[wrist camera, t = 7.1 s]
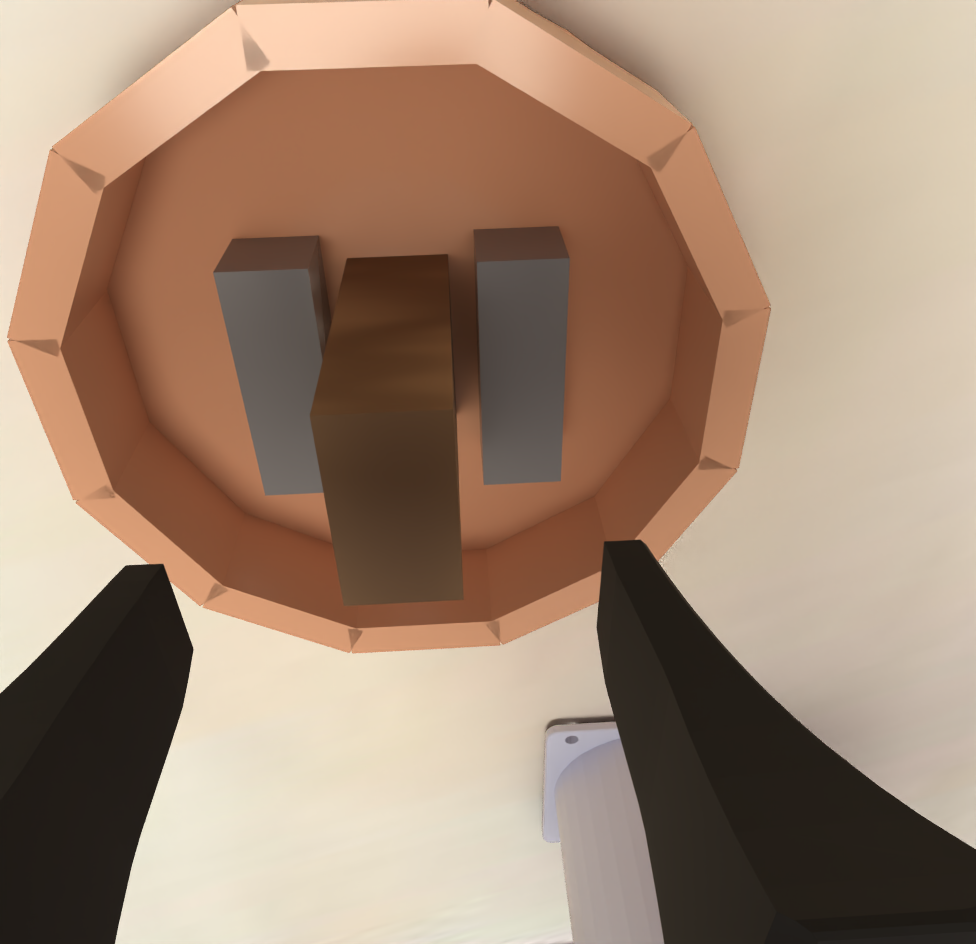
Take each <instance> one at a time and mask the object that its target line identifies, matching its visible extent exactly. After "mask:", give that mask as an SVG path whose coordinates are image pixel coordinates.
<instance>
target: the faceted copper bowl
mask: <svg viewBox="0 0 976 944" xmlns="http://www.w3.org/2000/svg"><path fill="white" fill-rule="evenodd" d="M52 147H53V148H52V149H51V150H50V151H49V156H48V160H47V165H46V169H45V173H44V178H43V182H42V186H41V191H40V195H39V200H38V204H37V208H36V213H35V217H34V222H33V226H32V230H31V235H30V239H29V243H28V248H27V252H26V257H25V261H24V265H23V270H22V274H21V279H20V283H19V287H18V292H17V296H16V300H15V305H14V309H13V314H12V318H11V322H10V327H9V331H8V336H7V338H10V339H9V340H8V344H9V346H10V348H11V351H12V353H13V356H14V358H15V360H16V363H17V365H18V368H19V370H20V373H21V375H22V377H23V380H24V382H25V385H26V387H27V389H28V392H29V394H30V397H31V399H32V401H33V404H34V406H35V409H36V411H37V413H38V416H39V418H40V421H41V423H42V425H43V428H44V430H45V433H46V435H47V438H48V440H49V442H50V445H51V447H52V450H53V452H54V454H55V457H56V459H57V462H58V464H59V466H60V469H61V471H62V474H63V476H64V478H65V481H66V483H67V486H68V488H69V491H70V493H71V495H72V498H73V500H77V501H76V504H78V505H79V506H80V507H81V508H82V509H84V510H85V511H86V512H87V513H88V514H90V515H91V516H92V517H93V518H94V519H96V520H97V521H98V522H99V523H100V524H102V525H103V526H104V527H105V528H107V529H108V530H109V531H110V532H111V533H113V534H114V535H115V536H116V537H117V538H119V539H120V540H121V541H122V542H123V543H125V544H126V545H127V546H128V547H129V548H131V549H132V550H133V551H134V552H135V553H137V554H138V555H139V556H140V557H141V558H143V559H144V560H145V561H146V562H147V563H149V564H164V567H165V569H166V572H167V575H168V578H169V581H170V582H172V583H173V584H174V585H175V586H176V587H178V588H179V589H180V590H181V591H182V592H184V593H185V594H186V595H187V596H188V597H190V598H191V599H192V600H193V601H195V602H196V603H197V604H198V605H199V606H201V605H203V604H204V605H203V608H206V609H209V610H213V611H216V612H219V613H222V614H225V615H229V616H232V617H235V618H238V619H242V620H245V621H248V622H251V623H254V624H258V625H261V626H264V627H267V628H270V629H274V630H277V631H280V632H283V633H287V634H290V635H293V636H296V637H299V638H303V639H306V640H309V641H312V642H316V643H319V644H322V645H325V646H328V647H332V648H335V649H338V650H341V651H345V652H348V653H350V651H351V650H352V653H368V652H386V651H405V650H423V649H442V648H460V647H479V646H497V645H500V642H501V643H502V644H506V643H508V642H510V641H512V640H514V639H517V638H519V637H521V636H523V635H526V634H528V633H530V632H532V631H535V630H537V629H539V628H541V627H543V626H546V625H548V624H550V623H552V622H555V621H557V620H559V619H561V618H563V617H566V616H568V615H570V614H572V613H575V612H577V611H579V610H581V609H583V608H586V607H588V606H590V605H592V604H595V603H597V602H599V594H600V582H601V570H602V558H603V546H604V541H623V540H642V541H643V542H644V543H645V544H646V545H647V546H648V548H649V549H650V551H651V552H652V554H653V555H654V557H655V558H656V560H657V561H658V560H659V559H660V558H661V557H662V556H663V555H664V554H665V553H666V551H667V550H668V549H669V548H670V547H671V546H672V545H673V543H674V542H675V541H676V540H677V539H678V538H679V537H680V535H681V534H682V533H683V532H684V531H685V530H686V529H687V528H688V526H689V525H690V524H691V523H692V522H693V521H694V520H695V518H696V517H697V516H698V515H699V514H700V513H701V512H702V510H703V509H704V508H705V507H706V506H707V505H708V504H709V503H710V501H711V500H712V499H713V498H714V497H715V496H716V495H717V493H718V492H719V491H720V490H721V489H722V488H723V487H724V485H725V484H726V483H727V482H728V481H729V480H730V479H731V477H732V476H733V475H734V474H735V473H736V472H737V469H736V468H739V464H740V459H741V454H742V449H743V445H744V440H745V435H746V430H747V425H748V420H749V415H750V410H751V405H752V400H753V395H754V390H755V385H756V380H757V375H758V370H759V365H760V360H761V355H762V350H763V345H764V340H765V335H766V331H767V326H768V321H769V316H770V311H771V308H770V307H769V306H770V303H769V300H768V298H767V296H766V293H765V291H764V289H763V286H762V284H761V282H760V279H759V277H758V274H757V272H756V270H755V267H754V265H753V263H752V260H751V258H750V256H749V253H748V251H747V249H746V246H745V244H744V242H743V239H742V237H741V234H740V232H739V230H738V227H737V225H736V223H735V220H734V218H733V216H732V213H731V211H730V209H729V206H728V204H727V202H726V199H725V197H724V194H723V192H722V190H721V187H720V185H719V183H718V180H717V178H716V176H715V173H714V171H713V169H712V166H711V164H710V162H709V159H708V157H707V154H706V152H705V150H704V147H703V145H702V143H701V140H700V138H699V136H698V133H697V131H696V129H695V127H694V126H693V125H692V123H691V122H690V121H688V120H687V119H686V118H685V117H684V116H683V115H682V114H681V113H680V112H679V111H678V110H677V109H676V108H675V107H674V106H673V105H672V104H671V103H670V102H669V101H667V100H666V99H665V98H664V97H663V96H662V95H661V94H660V93H659V92H658V91H657V90H656V89H654V88H653V87H651V86H649V85H648V84H646V83H645V82H643V81H642V80H640V79H638V78H637V77H635V76H634V75H632V74H630V73H629V72H627V71H626V70H624V69H623V68H621V67H619V66H618V65H616V64H615V63H613V62H612V61H610V60H608V59H607V58H605V57H604V56H602V55H601V54H599V53H597V52H596V51H595V50H593V49H592V48H591V47H589V46H588V45H587V44H585V43H584V42H583V41H581V40H580V39H579V38H577V37H576V36H575V35H573V34H572V33H571V32H569V31H568V30H566V29H564V28H562V27H561V26H559V25H557V24H555V23H553V22H551V21H549V20H548V19H546V18H544V17H542V16H540V15H538V14H536V13H535V12H533V11H531V10H530V9H528V8H527V7H525V6H524V5H522V4H520V3H519V2H517V1H516V0H241V1H240V2H238V3H236V4H235V5H233V6H231V7H230V8H229V9H227V10H226V11H225V12H224V13H222V14H221V15H220V16H219V17H217V18H216V19H215V20H213V21H212V22H211V23H210V24H208V25H207V26H206V27H204V28H203V29H202V30H201V31H199V32H198V33H197V34H196V35H194V36H193V37H192V38H190V39H189V40H188V41H187V42H185V43H184V44H183V45H181V46H180V47H179V48H178V49H176V50H175V51H174V52H173V53H171V54H170V55H169V56H167V57H166V58H165V59H164V60H162V61H161V62H160V63H158V64H157V65H156V66H155V67H153V68H152V69H151V70H149V71H148V72H147V73H146V74H144V75H143V76H142V77H141V78H139V79H138V80H137V81H135V82H134V83H133V84H132V85H130V86H129V87H128V88H126V89H125V90H124V91H123V92H121V93H120V94H119V95H118V96H116V97H115V98H114V99H112V100H111V101H110V102H109V103H107V104H106V105H105V106H103V107H102V108H101V109H100V110H98V111H97V112H96V113H95V114H93V115H92V116H91V117H89V118H88V119H87V120H86V121H84V122H83V123H82V124H80V125H79V126H78V127H77V128H75V129H74V130H73V131H71V132H70V133H69V134H68V135H66V136H65V137H64V138H63V139H61V140H60V141H59V142H57V143H56V144H55V145H54V146H52ZM437 254H448V263H449V282H450V301H451V320H452V339H453V358H454V377H455V396H456V415H457V441H458V467H459V493H460V519H461V545H462V571H463V597H464V600H450V601H431V602H412V603H393V604H374V605H355V606H344V604H343V599H342V593H341V587H340V582H339V576H338V571H337V565H336V560H335V554H334V549H333V543H332V537H331V532H330V526H329V521H328V515H327V510H326V504H325V499H324V493H323V487H322V482H321V476H320V471H319V465H318V460H317V454H316V448H315V443H314V437H313V432H312V426H311V421H310V412H311V408H312V404H313V399H314V395H315V391H316V387H317V383H318V378H319V374H320V370H321V366H322V361H323V357H324V353H325V349H326V344H327V340H328V336H329V332H330V327H331V323H332V319H333V315H334V310H335V306H336V302H337V298H338V293H339V289H340V285H341V281H342V277H343V272H344V268H345V264H346V260H347V258H362V257H387V256H412V255H437Z"/></svg>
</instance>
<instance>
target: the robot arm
mask: <svg viewBox="0 0 976 944" xmlns="http://www.w3.org/2000/svg"><path fill="white" fill-rule="evenodd" d="M597 633H598V640H599V647H600V654H601V660H602V666H603V673H604V679H605V684H606V688H607V692H608V696H609V699H610V703H611V707H612V710H613V714H614V718H615V721H616V722H599V723H582V724H564V725H554V726H552V727H550V728H549V729H548V730H547V731H546V733H545V756H544V786H543V815H542V835H543V839H544V840H545V841H547V842H552V843H555V842H560V843H561V851H562V858H563V866H564V874H565V882H566V890H567V897H568V905H569V913H570V921H571V929H572V936H573V944H976V849H974V848H973V847H971V846H969V845H968V844H966V843H964V842H963V841H961V840H960V839H958V838H956V837H955V836H953V835H952V834H950V833H948V832H947V831H945V830H944V829H942V828H940V827H939V826H937V825H935V824H934V823H932V822H931V821H929V820H927V819H926V818H924V817H923V816H921V815H920V814H918V813H917V812H915V811H914V810H912V809H911V808H910V807H908V806H907V805H905V804H904V803H902V802H901V801H900V800H898V799H897V798H895V797H894V796H892V795H891V794H890V793H888V792H887V791H885V790H884V789H882V788H881V787H879V786H878V785H877V784H875V783H874V782H873V781H872V780H870V779H869V778H868V777H866V776H865V775H864V774H863V773H861V772H860V771H859V770H857V769H856V768H855V767H854V766H852V765H851V764H850V763H848V762H847V761H846V760H845V759H843V758H842V757H841V756H839V755H838V754H837V753H836V752H834V751H833V750H832V749H831V748H829V747H828V746H827V745H825V744H824V743H823V742H822V741H821V740H820V739H818V738H817V737H816V736H815V735H814V734H813V733H812V732H810V731H809V730H808V729H807V728H806V727H805V726H804V725H802V724H801V723H800V722H799V721H798V720H797V719H796V718H794V717H793V716H792V715H791V714H790V713H789V712H788V711H787V710H786V709H785V708H784V707H783V706H782V705H781V704H779V703H778V702H777V701H776V700H775V699H774V698H773V697H772V696H771V695H770V694H769V693H768V692H767V691H766V690H765V689H764V688H763V687H762V686H761V685H760V684H759V683H758V682H757V681H756V680H755V679H754V678H753V677H752V676H751V675H750V674H749V673H748V672H747V671H746V669H745V668H744V667H743V666H742V665H741V664H740V663H739V662H738V661H737V660H736V659H735V658H734V657H733V655H732V654H731V653H730V652H729V651H728V650H727V649H726V648H725V646H724V645H723V644H722V643H721V642H720V641H719V640H718V639H717V637H716V636H715V635H714V634H713V633H712V631H711V630H710V629H709V628H708V626H707V625H706V624H705V623H704V622H703V620H702V619H701V618H700V617H699V616H698V614H697V613H696V612H695V611H694V610H693V608H692V607H691V606H690V604H689V603H688V602H687V601H686V599H685V598H684V597H683V595H682V594H681V593H680V591H679V590H678V589H677V587H676V586H675V585H674V583H673V582H672V581H671V579H670V578H669V577H668V575H667V574H666V573H665V571H664V570H663V568H662V567H661V565H660V564H659V563H658V561H657V560H656V558H655V557H654V555H653V554H652V552H651V551H650V549H649V548H648V546H647V545H646V544H645V543H644V542H643V541H642V540H623V541H604V546H603V558H602V570H601V582H600V594H599V605H598V617H597ZM192 655H193V646H192V643H191V641H190V638H189V635H188V632H187V629H186V626H185V624H184V621H183V618H182V615H181V612H180V609H179V606H178V604H177V601H176V598H175V595H174V592H173V589H172V587H171V584H170V581H169V578H168V575H167V572H166V569H165V567H164V564H146V565H127V566H125V567H124V568H123V569H122V570H121V571H120V572H119V573H118V574H117V575H116V576H115V577H114V578H113V579H112V580H111V581H110V582H109V583H108V584H107V586H106V587H105V588H104V589H103V590H102V591H101V592H100V593H99V594H98V595H97V596H96V597H95V598H94V599H93V600H92V601H91V602H90V604H89V605H88V606H87V607H86V608H85V609H84V610H83V611H82V612H81V613H80V614H79V615H78V616H77V617H76V618H75V619H74V621H73V622H72V623H71V624H70V625H69V626H68V627H67V628H66V629H65V630H64V631H63V632H62V633H61V634H60V635H59V636H58V637H57V638H56V639H55V640H54V641H53V642H52V643H51V644H50V645H49V647H48V648H47V649H46V650H45V651H44V652H43V653H42V654H41V655H40V656H39V657H38V658H37V659H36V660H35V661H34V662H33V663H32V664H31V665H30V666H29V667H28V668H27V669H26V670H25V671H24V672H23V673H22V674H20V675H19V676H18V677H17V678H16V679H15V680H14V681H13V682H12V683H11V684H10V685H9V686H8V687H7V688H6V689H5V690H4V691H3V692H1V693H0V944H115V940H116V935H117V930H118V925H119V920H120V916H121V911H122V907H123V902H124V898H125V893H126V889H127V884H128V880H129V876H130V871H131V867H132V863H133V859H134V856H135V852H136V849H137V845H138V842H139V838H140V835H141V832H142V829H143V826H144V823H145V820H146V817H147V814H148V811H149V808H150V805H151V802H152V799H153V796H154V793H155V790H156V787H157V784H158V781H159V778H160V775H161V772H162V769H163V766H164V763H165V760H166V757H167V754H168V751H169V748H170V745H171V742H172V739H173V736H174V733H175V730H176V727H177V723H178V720H179V717H180V714H181V711H182V708H183V703H184V698H185V693H186V688H187V683H188V678H189V672H190V666H191V661H192Z"/></svg>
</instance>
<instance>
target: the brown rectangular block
mask: <svg viewBox="0 0 976 944" xmlns="http://www.w3.org/2000/svg"><path fill="white" fill-rule="evenodd" d="M310 421H311V426H312V432H313V437H314V443H315V448H316V454H317V460H318V465H319V471H320V476H321V482H322V487H323V493H324V499H325V504H326V510H327V515H328V521H329V526H330V532H331V537H332V543H333V549H334V554H335V560H336V565H337V571H338V576H339V582H340V587H341V593H342V599H343V604H344V606H355V605H374V604H393V603H412V602H431V601H450V600H464V597H463V571H462V545H461V519H460V493H459V467H458V441H457V415H456V396H455V377H454V358H453V339H452V320H451V301H450V282H449V263H448V254H437V255H412V256H387V257H362V258H347V260H346V264H345V268H344V272H343V277H342V281H341V285H340V289H339V293H338V298H337V302H336V306H335V310H334V315H333V319H332V323H331V327H330V332H329V336H328V340H327V344H326V349H325V353H324V357H323V361H322V366H321V370H320V374H319V378H318V383H317V387H316V391H315V395H314V399H313V404H312V408H311V412H310Z"/></svg>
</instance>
